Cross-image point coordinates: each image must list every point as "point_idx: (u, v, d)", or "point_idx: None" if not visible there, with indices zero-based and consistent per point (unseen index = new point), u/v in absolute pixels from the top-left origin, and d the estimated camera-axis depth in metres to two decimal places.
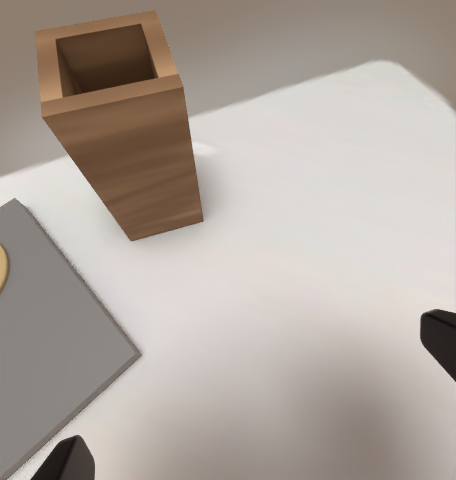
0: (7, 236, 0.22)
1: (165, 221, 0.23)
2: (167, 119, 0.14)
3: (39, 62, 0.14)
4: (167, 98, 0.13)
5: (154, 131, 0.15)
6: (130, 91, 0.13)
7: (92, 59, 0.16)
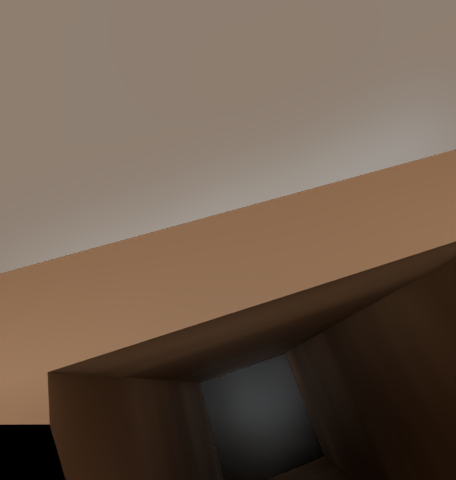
0: None
1: None
2: None
3: None
4: None
5: None
6: None
7: (219, 340, 0.03)
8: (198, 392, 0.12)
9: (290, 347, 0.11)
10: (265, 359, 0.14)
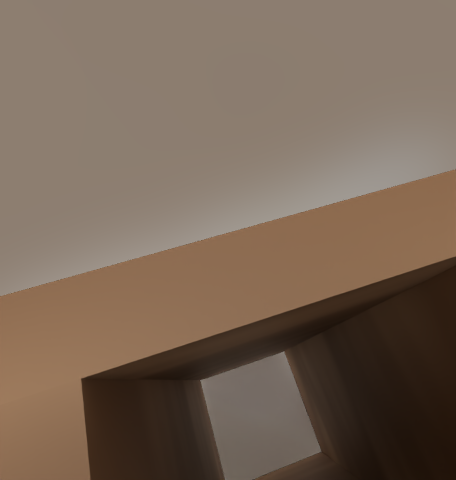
0: None
1: None
2: None
3: None
4: None
5: None
6: None
7: (228, 345, 0.04)
8: (199, 390, 0.12)
9: (289, 346, 0.11)
10: (264, 357, 0.14)
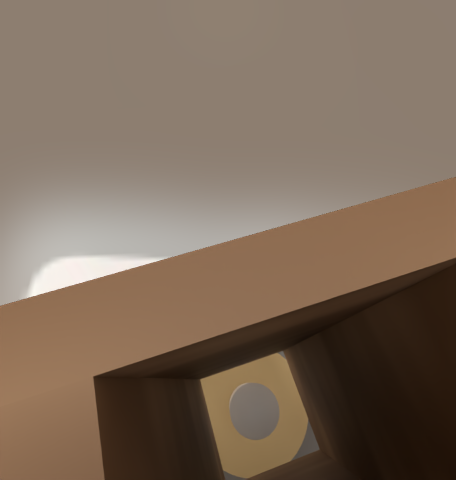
0: None
1: None
2: None
3: None
4: None
5: None
6: None
7: (228, 346, 0.04)
8: (199, 389, 0.12)
9: (288, 346, 0.11)
10: (263, 357, 0.14)
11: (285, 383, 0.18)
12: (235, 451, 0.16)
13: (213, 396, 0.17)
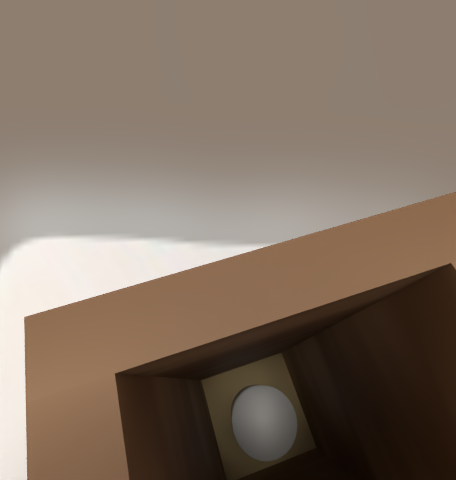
0: None
1: None
2: None
3: None
4: None
5: None
6: None
7: (227, 348, 0.04)
8: (201, 389, 0.13)
9: (285, 348, 0.12)
10: (262, 358, 0.15)
11: None
12: (239, 472, 0.13)
13: (211, 402, 0.14)
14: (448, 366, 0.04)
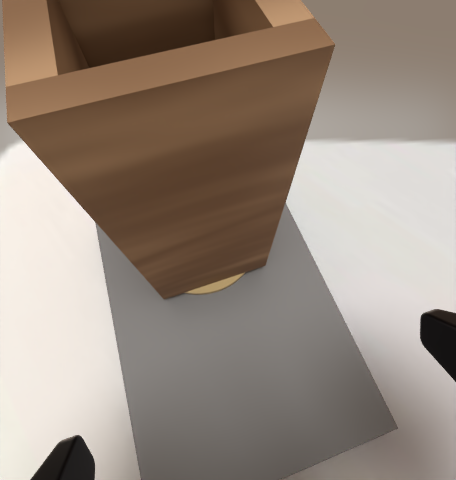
0: None
1: (216, 273, 0.15)
2: (275, 120, 0.07)
3: (6, 4, 0.06)
4: (293, 73, 0.06)
5: (243, 145, 0.07)
6: (217, 56, 0.06)
7: (113, 11, 0.08)
8: None
9: None
10: None
11: None
12: None
13: None
14: (225, 7, 0.08)
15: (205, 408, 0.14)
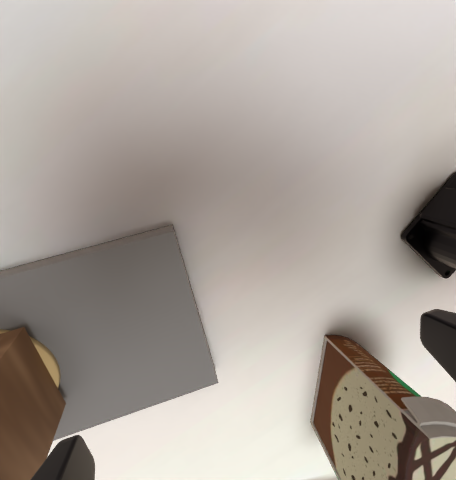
0: None
1: (36, 385, 0.16)
2: None
3: None
4: None
5: None
6: None
7: None
8: None
9: None
10: None
11: None
12: None
13: None
14: None
15: (153, 361, 0.20)
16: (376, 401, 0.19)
